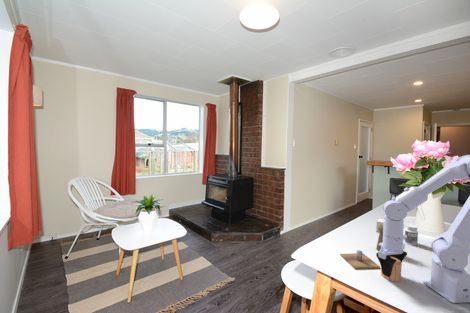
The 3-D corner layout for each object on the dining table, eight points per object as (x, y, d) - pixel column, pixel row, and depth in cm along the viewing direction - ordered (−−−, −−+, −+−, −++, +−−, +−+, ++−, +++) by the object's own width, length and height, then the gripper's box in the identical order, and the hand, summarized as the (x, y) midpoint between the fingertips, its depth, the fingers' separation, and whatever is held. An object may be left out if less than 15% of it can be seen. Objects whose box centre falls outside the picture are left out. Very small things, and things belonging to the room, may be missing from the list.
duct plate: (380, 268, 81) (380, 257, 81) (354, 269, 81) (355, 258, 80) (362, 254, 91) (363, 245, 91) (340, 255, 91) (340, 245, 90)
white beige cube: (376, 232, 115) (376, 221, 115) (378, 229, 119) (379, 218, 119) (389, 235, 111) (390, 224, 110) (392, 232, 115) (392, 221, 115)
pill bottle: (404, 239, 106) (405, 223, 105) (417, 242, 103) (418, 225, 102) (404, 243, 102) (405, 226, 101) (417, 246, 99) (418, 228, 98)
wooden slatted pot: (404, 281, 74) (405, 264, 73) (389, 281, 73) (390, 264, 73) (391, 271, 79) (392, 255, 79) (377, 271, 79) (378, 256, 79)
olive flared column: (395, 254, 92) (397, 229, 91) (379, 253, 93) (381, 228, 92) (388, 247, 97) (389, 224, 97) (373, 246, 99) (374, 223, 98)
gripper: (390, 227, 83) (388, 261, 83) (369, 235, 75) (367, 272, 76) (412, 234, 77) (410, 270, 77) (392, 243, 69) (390, 284, 70)
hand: (390, 272), depth 76 cm, fingers closed on wooden slatted pot, 6 cm apart
